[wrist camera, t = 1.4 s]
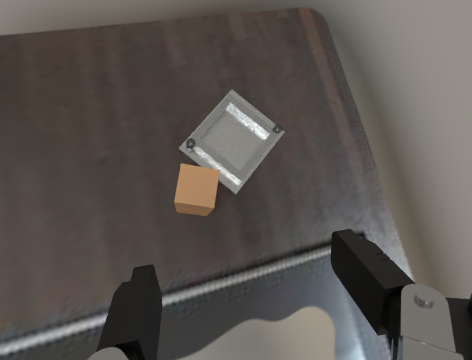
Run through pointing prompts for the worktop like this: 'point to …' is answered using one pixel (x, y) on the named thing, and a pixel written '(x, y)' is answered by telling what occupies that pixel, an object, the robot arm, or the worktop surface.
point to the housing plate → (232, 141)
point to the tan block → (196, 190)
